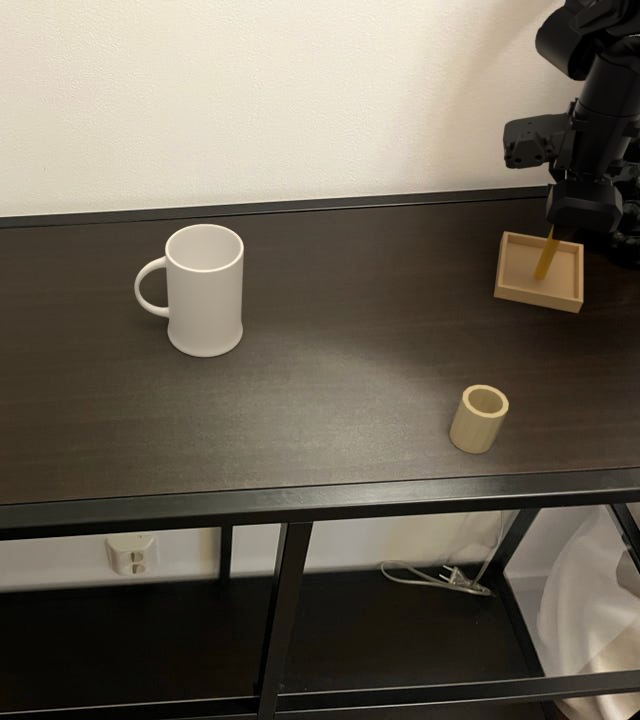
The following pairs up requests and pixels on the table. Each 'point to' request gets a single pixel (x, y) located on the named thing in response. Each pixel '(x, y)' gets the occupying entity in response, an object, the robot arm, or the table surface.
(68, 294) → the table surface
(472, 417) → the pencil cup
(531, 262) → the tray
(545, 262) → the pencil
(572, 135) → the robot arm
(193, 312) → the mug
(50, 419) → the table surface
